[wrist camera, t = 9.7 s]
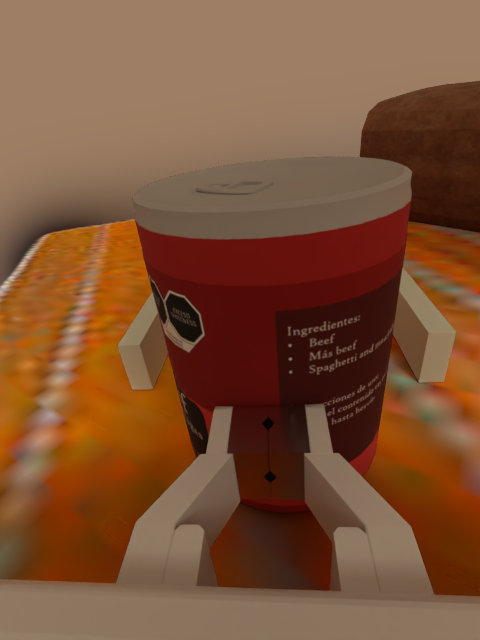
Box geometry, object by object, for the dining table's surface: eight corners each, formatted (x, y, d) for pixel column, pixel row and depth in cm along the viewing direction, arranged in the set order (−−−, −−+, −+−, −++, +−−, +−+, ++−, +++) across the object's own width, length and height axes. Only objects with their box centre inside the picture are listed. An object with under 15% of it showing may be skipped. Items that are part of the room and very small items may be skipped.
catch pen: (371, 266, 31) (374, 232, 29) (443, 382, 18) (456, 331, 16) (187, 277, 33) (181, 246, 31) (132, 389, 20) (117, 345, 18)
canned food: (220, 374, 20) (185, 165, 14) (369, 386, 18) (395, 148, 12) (164, 500, 14) (65, 216, 8) (384, 541, 12) (451, 198, 6)
